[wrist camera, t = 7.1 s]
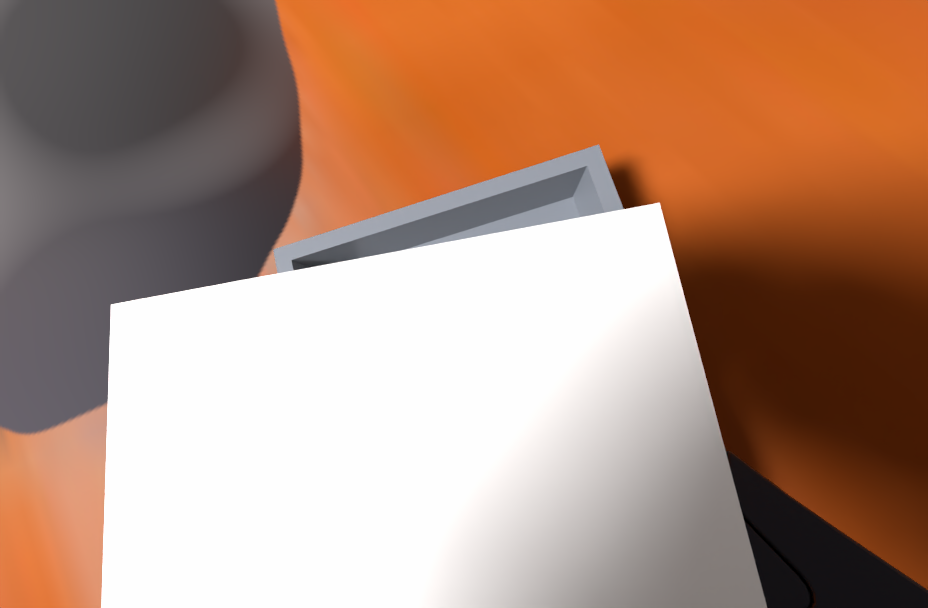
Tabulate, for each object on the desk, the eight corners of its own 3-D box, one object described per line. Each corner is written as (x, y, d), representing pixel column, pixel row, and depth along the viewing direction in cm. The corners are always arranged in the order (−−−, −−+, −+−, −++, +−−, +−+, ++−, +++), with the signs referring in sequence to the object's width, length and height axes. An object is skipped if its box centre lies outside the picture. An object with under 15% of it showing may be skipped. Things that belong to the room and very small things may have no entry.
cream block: (553, 444, 14) (881, 1038, 2) (436, 458, 14) (87, 1010, 2) (531, 325, 14) (659, 203, 3) (421, 342, 15) (110, 304, 3)
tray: (701, 523, 16) (768, 581, 12) (386, 595, 17) (351, 671, 13) (578, 188, 19) (598, 144, 15) (319, 269, 20) (273, 249, 16)
